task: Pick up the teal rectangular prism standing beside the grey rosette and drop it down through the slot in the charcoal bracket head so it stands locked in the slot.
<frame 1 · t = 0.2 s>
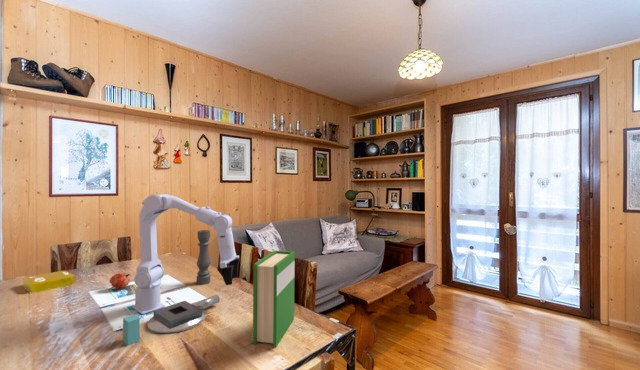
hand: (231, 281, 107), 10 cm above the table, tool pointing down, fingers open, 7 cm apart
hardback book: (275, 331, 91), on the table
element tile: (49, 286, 130), on the table
rosette bracket: (177, 320, 97), on the table
pomegranate: (119, 289, 126), on the table
candle holder: (203, 282, 135), on the table
teal rectangular prism: (131, 341, 84), on the table
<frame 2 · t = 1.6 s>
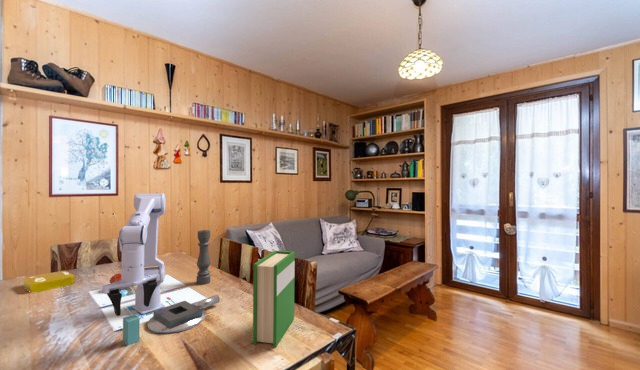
hand: (132, 310, 84), 9 cm above the table, tool pointing down, fingers open, 7 cm apart
nothing on the table moved.
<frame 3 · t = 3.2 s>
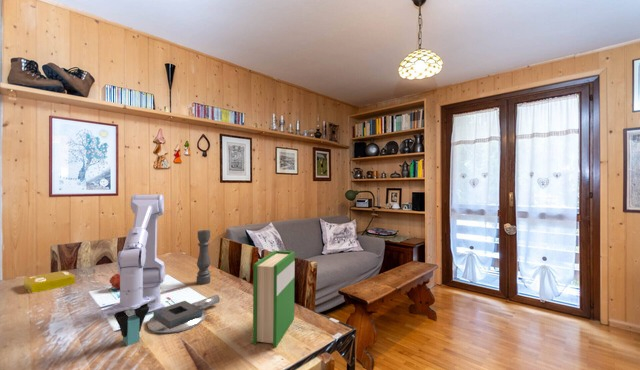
hand: (131, 333, 84), 2 cm above the table, tool pointing down, fingers closed on teal rectangular prism, 3 cm apart
teal rectangular prism: (131, 341, 84), on the table, touching gripper
everything else where it was.
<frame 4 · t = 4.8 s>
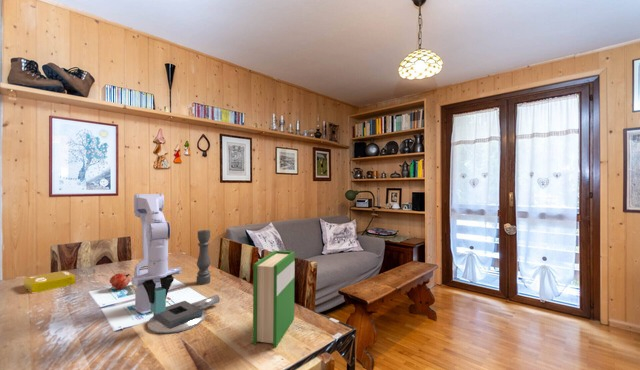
hand: (157, 300, 91), 9 cm above the table, tool pointing down, fingers closed on teal rectangular prism, 3 cm apart
teal rectangular prism: (158, 310, 91), point 6 cm above the table, touching gripper
everything else where it was.
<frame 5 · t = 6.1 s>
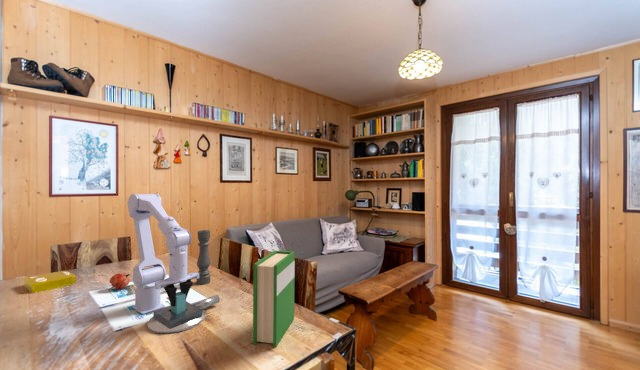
hand: (178, 303, 97), 6 cm above the table, tool pointing down, fingers closed on teal rectangular prism, 3 cm apart
teal rectangular prism: (178, 314, 97), point 2 cm above the table, touching gripper
everything else where it was.
when the fingers open (4 cm above the table, at t = 6.7 s): teal rectangular prism stays where it is, resting on rosette bracket.
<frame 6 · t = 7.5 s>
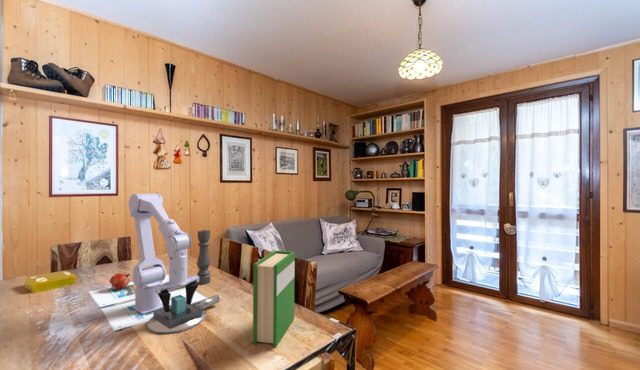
hand: (177, 307, 97), 4 cm above the table, tool pointing down, fingers open, 7 cm apart
teal rectangular prism: (178, 317, 97), point 1 cm above the table, touching rosette bracket
everything else where it was.
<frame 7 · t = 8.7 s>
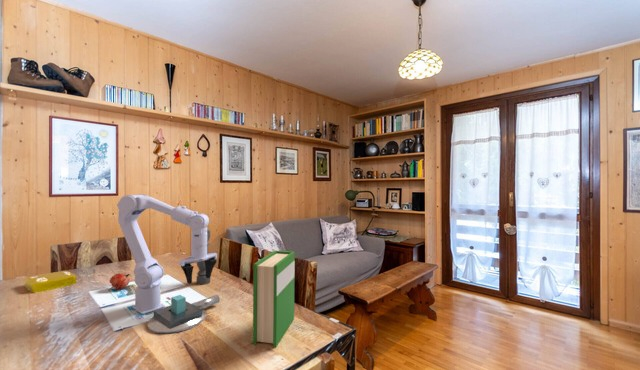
hand: (199, 280, 108), 10 cm above the table, tool pointing down, fingers open, 7 cm apart
nothing on the table moved.
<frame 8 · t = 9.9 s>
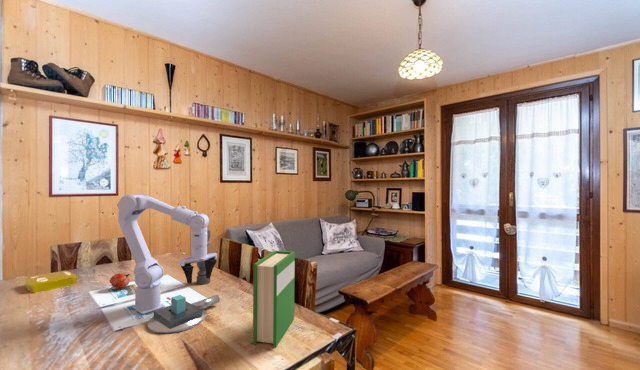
hand: (199, 280, 108), 10 cm above the table, tool pointing down, fingers open, 7 cm apart
nothing on the table moved.
at the end: teal rectangular prism 0.3 cm off-centre on the rosette bracket, point 1.0 cm above the rosette bracket's base; teal rectangular prism tilted 0°; the gripper is holding nothing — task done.
